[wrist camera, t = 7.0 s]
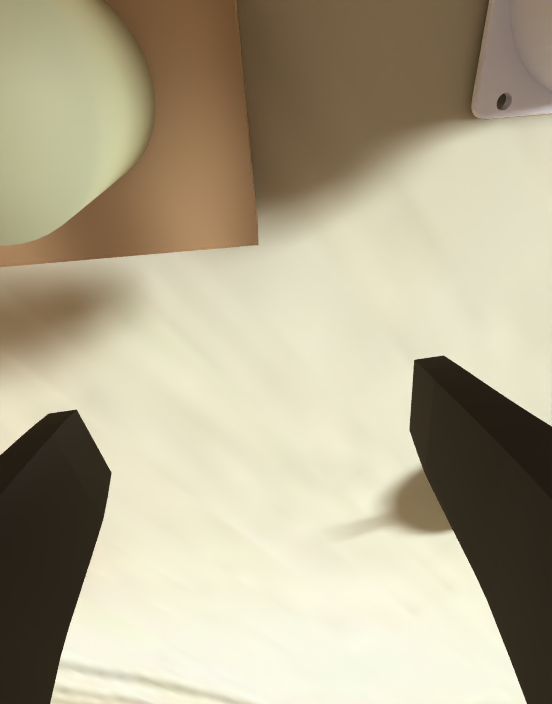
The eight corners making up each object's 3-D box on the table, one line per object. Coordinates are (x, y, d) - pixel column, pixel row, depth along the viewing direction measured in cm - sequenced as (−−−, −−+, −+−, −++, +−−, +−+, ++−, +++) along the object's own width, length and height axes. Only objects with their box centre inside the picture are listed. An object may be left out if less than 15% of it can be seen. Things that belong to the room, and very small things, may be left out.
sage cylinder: (160, 4, 11) (95, -46, 6) (150, 200, 13) (99, 266, 9) (-53, -57, 10) (-315, -169, 5) (-18, 165, 12) (-170, 218, 8)
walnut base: (221, -151, 11) (213, -213, 9) (257, 219, 17) (258, 244, 14) (-146, -119, 11) (-258, -173, 9) (14, 240, 17) (-27, 269, 14)
